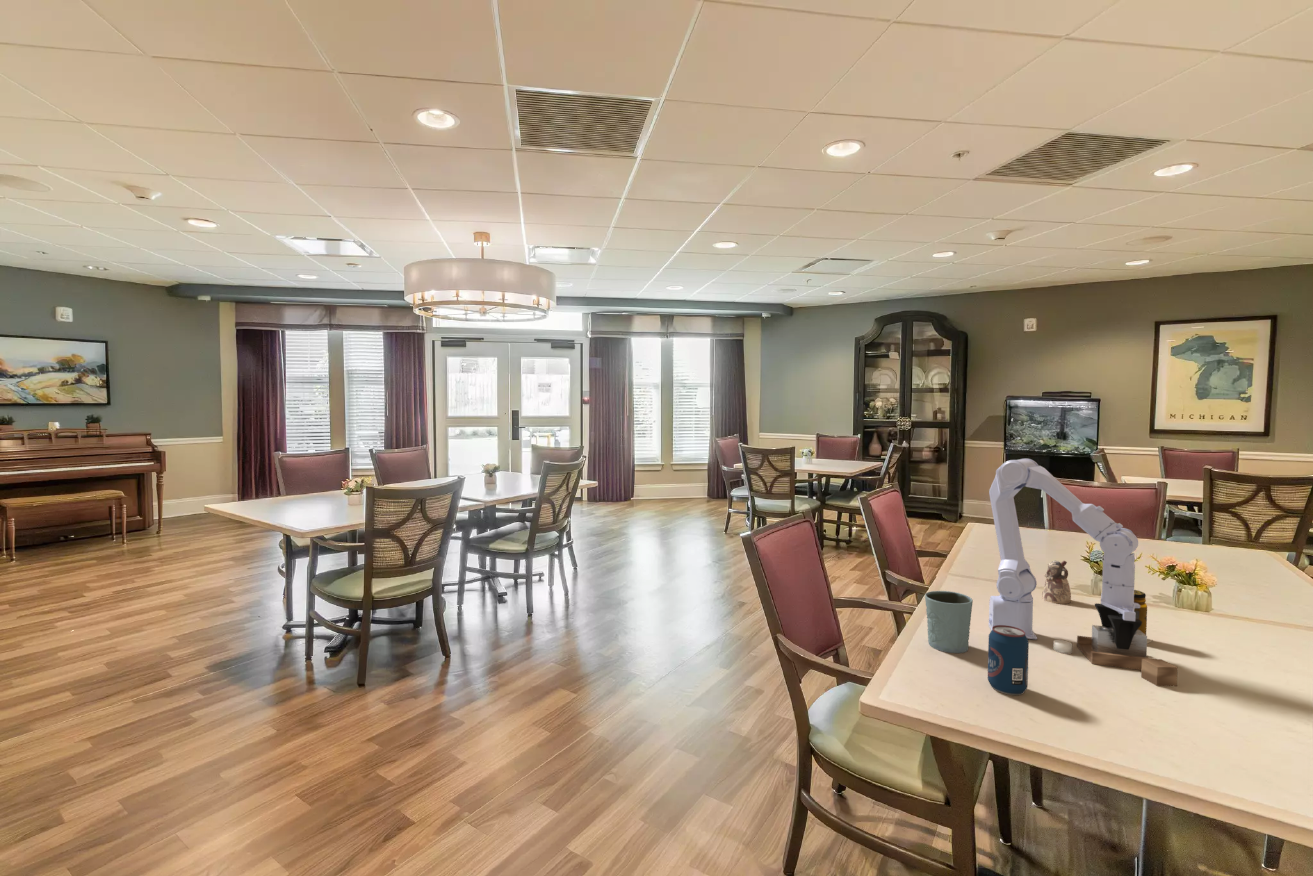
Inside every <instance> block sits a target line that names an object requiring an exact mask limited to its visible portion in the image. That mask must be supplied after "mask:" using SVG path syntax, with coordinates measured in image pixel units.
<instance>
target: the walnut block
mask: <svg viewBox="0 0 1313 876" xmlns="http://www.w3.org/2000/svg"><path fill="white" fill-rule="evenodd" d="M1140 673H1141V675H1140V676H1141V679H1144V680H1146V682H1149V683H1151V684H1152V685H1154V686H1156V687H1178V666H1176V665H1174V664H1172V663H1170V662H1168V661H1166V660H1164V659H1161V658H1159V659H1158V658H1153V659H1142V670H1140Z"/></svg>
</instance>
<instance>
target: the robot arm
mask: <svg viewBox="0 0 1313 876" xmlns="http://www.w3.org/2000/svg"><path fill="white" fill-rule="evenodd" d="M1024 487H1026V488H1032V489H1037V490H1042V491H1043V492H1044V493H1045V494H1047V495H1048V496H1050V497H1051V498H1052V499H1053V500H1055V501H1056V502H1057V503H1058V504H1060V506H1062V507H1064V508H1065V509H1066V510H1067V511H1069V512H1070V513H1071V519H1072V522H1074V523H1075V524H1076V525H1077V526H1078V527H1079V528H1081V529H1082V530H1083V531H1084V532H1085V533H1087V534H1088V536H1090V537H1091V538H1092V539H1093V540H1094V541H1096V542H1098V543H1099V547H1100V549H1101V551H1102V552H1103V561H1102V577H1101V579H1102V581H1101V582H1102V584H1101V592H1100V593H1101V594H1100V603H1097V602H1095V603H1094V607H1095V610H1096V611H1097V613H1098V616H1099V618H1100V621H1101V623H1100V624H1101V626H1109V627H1113V630H1114V637H1115V644H1116V647H1117V648H1119V649H1127V650H1129V648H1130V645H1131V642H1132V639H1133V637H1134V634H1135V632H1136V631H1137V629H1138V628H1139V627H1140V626H1141V625H1142V621H1140V620H1139V619H1135V615H1136V613H1135V612H1134V609H1135V608H1140V605H1139V604H1138V603H1134V590H1135V582H1136V581H1135V579H1136V578H1135V573H1136V572H1135V571H1136V564H1135V559H1136V558H1135V557H1136V555H1135V553H1134V552H1135V551H1136V550H1137V548H1138V546H1139V539H1138V537H1137V536H1136V534H1135V533H1134V532H1133V531H1132V530H1131V529H1129V528H1126V527H1124V526H1123V524H1121V522H1119V523H1117V522H1116V521H1115V520H1113V518H1111V517H1110V516H1108V515H1107V514H1106V513H1105V512H1104V511H1105V509H1104V508H1103V507H1102V506H1101V505H1098V506H1096V505H1095V504H1093V503H1084V502H1082V501H1081V499H1079V498H1078V497H1077V496H1076V495H1075V494H1074V493H1073V492H1071V490H1069V489H1068V488H1067V487H1066V486H1065V485H1064V484H1062V483H1061V482H1060V480H1058V479H1057V478H1056V477H1055V476H1053V474H1052V473H1051V472H1049V471H1048V470H1047V469H1046V468H1045V467H1043V466H1041V465H1039V464H1038V463H1037V462H1036V461H1035V460H1033V459H1031V458H1020V459H1010V460H1007V461H1004V462H1003V463H1002V464H1001V465H1000V466H999V467H998V468H997V469H996V470H995V476H994V478H993V481H992V483H991V486H990V488H989V489H988V491H989V493H988V494H989V500H990V505H991V506H990V507H991V511H992V518H993V523H994V528H995V529H994V530H995V534H996V535H995V536H996V540H997V545H998V552H999V556H1000V561H999V562H1000V563H999V565H998V568H997V572H998V573H997V574H998V578H997V581H996V584H995V585H996V589H997V591H998V593H999V595H990V596H989V604H988V605H989V606H988V626H989V628H990V631H992V627H993V626H996V625H1006V626H1012V627H1016V628H1019V629H1021V630H1023V631H1024V632H1025V636H1026V638H1027V639H1029V640H1038V637H1037V635H1036V634H1035V633H1034V631H1033V619H1034V618H1033V617H1034V597H1033V596H1032V593H1033V592H1034V591H1035V590H1036V588H1037V584H1038V582H1037V578H1036V577H1035V574H1034V573H1033V572H1032V571H1031V568H1030V564H1029V562H1028V561H1027V560H1026V558H1025V553H1024V548H1023V542H1022V538H1021V532H1020V527H1019V526H1020V525H1019V521H1018V515H1017V508H1016V504H1015V499H1014V498H1015V496H1016V495H1017V494H1018V493H1019V492H1020V491H1021V490H1022V489H1023V488H1024Z"/></svg>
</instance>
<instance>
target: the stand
mask: <svg viewBox="0 0 1313 876" xmlns="http://www.w3.org/2000/svg"><path fill="white" fill-rule="evenodd" d="M1076 636H1077V637H1076V646H1077V648H1078V649H1079V650H1080V651H1081V653H1082V654H1083V655H1084V656H1085V657H1086V659H1087V660H1089V662H1090V663H1091V664H1092V665H1098V666H1107V667H1116V668H1122V669H1123V668H1124V669H1130V670H1138V671H1141V670H1142V659H1154V658H1151V657H1148V656H1147V655H1146V658H1145V657H1136V656H1128V655H1120V654H1111V653H1103V652H1095V651H1094V650H1093V649H1092V636H1085V635H1084V636H1083V635H1076Z"/></svg>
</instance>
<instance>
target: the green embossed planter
mask: <svg viewBox="0 0 1313 876" xmlns="http://www.w3.org/2000/svg"><path fill="white" fill-rule="evenodd" d="M924 598H925V599H924V600H925V601H924V602H925V607H926V609H925V612H926V618H927V619H926V621H927V639H928V640H927V641H928V645H929V647H930V648H932V649H935V650H938V651H939V652H940V651H941V652H943V653H944V652H945V653H948V654H949V653H950V654H963V653H966V652H967V651H968V649H969V640H970V633H971V632H970V629H971V620H972V619H971V617H972V610H973V602H974V601H973V600H974V599H972V598H971V596H969V595H967V594H963V593H960V592H955V591H951V590H950V591H949V590H948V591H947V590H931V591H927V592H926V593H924Z"/></svg>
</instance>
